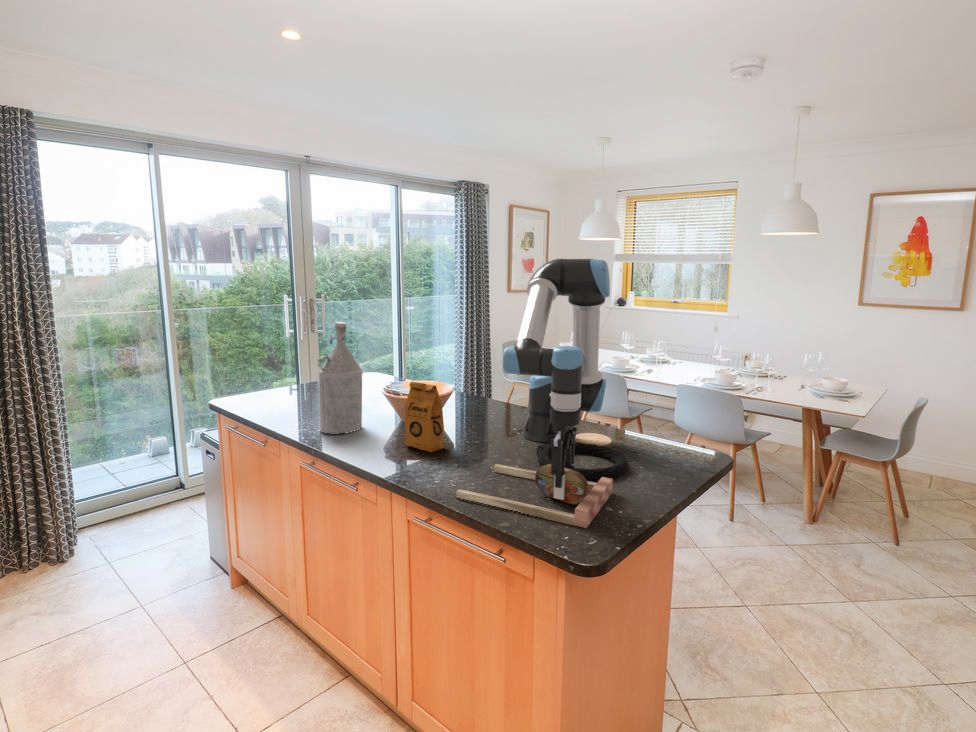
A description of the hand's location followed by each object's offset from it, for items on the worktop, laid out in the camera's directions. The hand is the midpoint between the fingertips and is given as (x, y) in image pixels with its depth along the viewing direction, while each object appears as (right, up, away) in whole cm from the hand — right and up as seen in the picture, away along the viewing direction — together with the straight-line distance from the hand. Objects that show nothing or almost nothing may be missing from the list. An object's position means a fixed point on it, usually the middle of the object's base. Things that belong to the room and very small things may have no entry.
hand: (561, 495), depth 144 cm
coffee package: (-40, +6, +41) cm, 58 cm away
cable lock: (+9, +3, +28) cm, 29 cm away
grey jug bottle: (-73, +10, +60) cm, 95 cm away
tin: (0, -1, +1) cm, 1 cm away
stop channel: (-6, -1, +3) cm, 7 cm away
